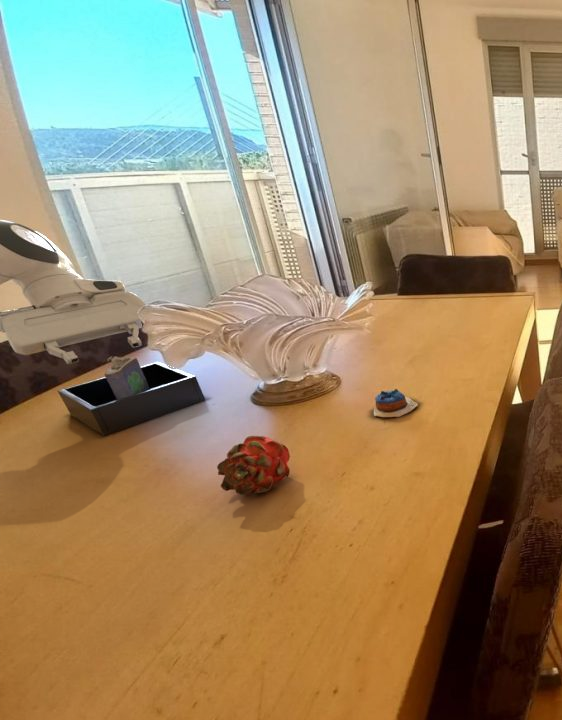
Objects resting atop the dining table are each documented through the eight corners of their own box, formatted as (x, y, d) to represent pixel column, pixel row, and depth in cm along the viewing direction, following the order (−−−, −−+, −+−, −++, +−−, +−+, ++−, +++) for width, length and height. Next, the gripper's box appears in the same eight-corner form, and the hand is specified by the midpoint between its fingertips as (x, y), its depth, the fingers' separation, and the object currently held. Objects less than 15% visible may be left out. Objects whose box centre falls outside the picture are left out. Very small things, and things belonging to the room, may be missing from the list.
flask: (137, 413, 93) (113, 363, 89) (118, 416, 92) (92, 366, 88) (156, 394, 101) (134, 347, 97) (139, 397, 100) (116, 350, 95)
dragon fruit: (263, 518, 67) (262, 487, 76) (308, 467, 70) (301, 444, 79) (200, 490, 62) (206, 461, 72) (251, 437, 65) (250, 416, 74)
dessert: (361, 413, 90) (370, 383, 91) (384, 417, 96) (393, 388, 97) (396, 421, 88) (405, 390, 89) (418, 424, 94) (426, 395, 95)
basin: (104, 436, 86) (90, 409, 84) (70, 415, 94) (57, 390, 92) (205, 399, 99) (195, 376, 97) (168, 383, 107) (158, 361, 105)
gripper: (-19, 304, 85) (27, 363, 84) (130, 279, 101) (169, 328, 101) (-12, 324, 88) (32, 381, 88) (131, 297, 105) (168, 344, 104)
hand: (106, 353), depth 94 cm, fingers open, 8 cm apart
